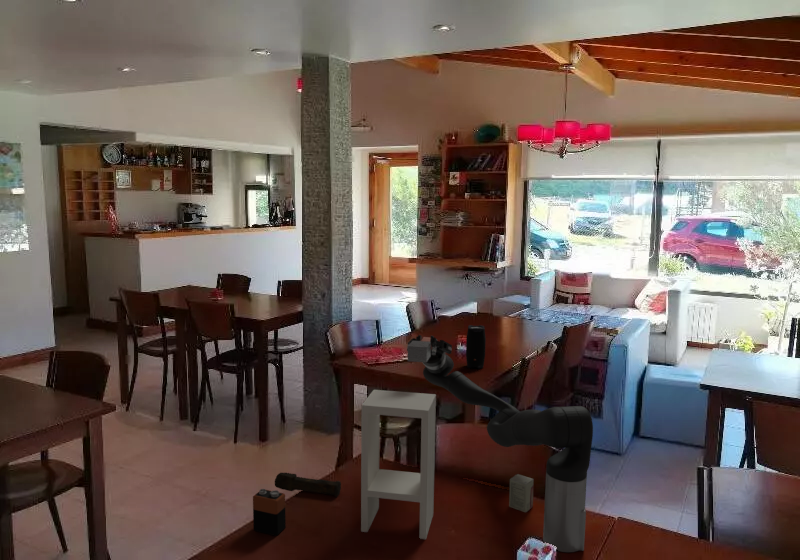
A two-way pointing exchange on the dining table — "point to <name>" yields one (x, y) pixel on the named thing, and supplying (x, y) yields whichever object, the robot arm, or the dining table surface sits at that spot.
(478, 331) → the portable speaker
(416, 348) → the hammer
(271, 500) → the battery
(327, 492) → the dark green flashlight
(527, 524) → the dining table surface
